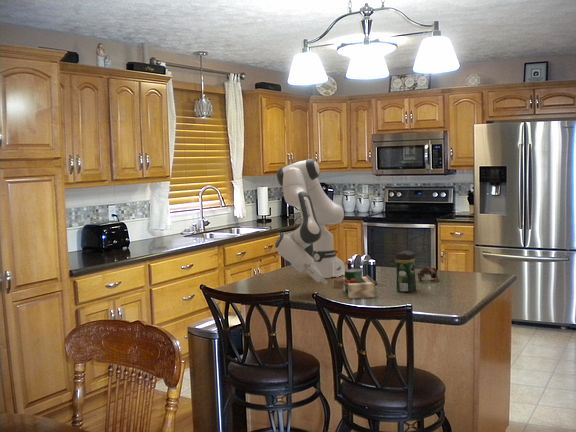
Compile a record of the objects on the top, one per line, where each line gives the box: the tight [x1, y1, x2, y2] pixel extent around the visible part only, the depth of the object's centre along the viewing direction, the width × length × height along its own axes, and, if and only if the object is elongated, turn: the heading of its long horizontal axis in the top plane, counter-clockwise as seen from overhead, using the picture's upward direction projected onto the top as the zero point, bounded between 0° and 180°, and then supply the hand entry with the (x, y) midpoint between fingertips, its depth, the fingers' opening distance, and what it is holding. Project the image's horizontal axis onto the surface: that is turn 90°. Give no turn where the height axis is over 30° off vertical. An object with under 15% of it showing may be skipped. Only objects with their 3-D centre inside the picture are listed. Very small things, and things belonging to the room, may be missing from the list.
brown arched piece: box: [416, 266, 439, 283], centre depth 307 cm, size 12×10×8 cm
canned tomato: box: [344, 268, 363, 296], centre depth 283 cm, size 8×8×11 cm
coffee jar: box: [394, 250, 417, 293], centre depth 285 cm, size 10×8×19 cm
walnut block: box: [333, 277, 344, 289], centre depth 301 cm, size 5×5×4 cm
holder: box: [343, 274, 376, 299], centre depth 283 cm, size 12×19×7 cm, turn 3°
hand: (326, 283), depth 282 cm, fingers closed
